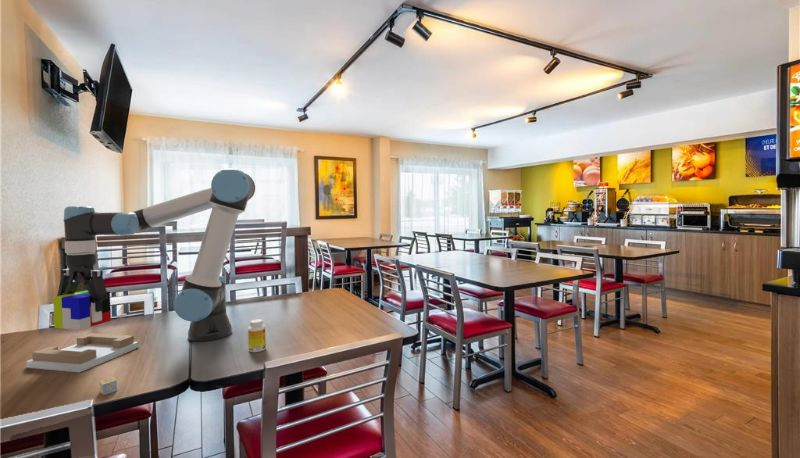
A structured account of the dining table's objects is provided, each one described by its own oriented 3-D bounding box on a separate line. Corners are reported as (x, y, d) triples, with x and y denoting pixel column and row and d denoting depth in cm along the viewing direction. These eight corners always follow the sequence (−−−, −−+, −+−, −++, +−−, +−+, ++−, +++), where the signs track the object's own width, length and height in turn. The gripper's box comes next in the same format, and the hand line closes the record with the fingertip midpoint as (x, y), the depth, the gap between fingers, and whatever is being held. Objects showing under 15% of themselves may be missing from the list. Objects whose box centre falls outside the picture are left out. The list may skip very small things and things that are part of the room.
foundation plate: (138, 347, 128) (138, 335, 128) (79, 372, 108) (78, 357, 108) (92, 344, 132) (91, 331, 131) (26, 367, 112) (25, 353, 112)
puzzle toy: (79, 330, 113) (78, 298, 113) (54, 327, 115) (53, 297, 115) (110, 320, 123) (109, 291, 123) (87, 318, 125) (86, 290, 125)
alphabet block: (102, 395, 95) (102, 384, 94) (100, 392, 97) (99, 380, 96) (117, 391, 97) (116, 380, 97) (114, 387, 99) (114, 376, 99)
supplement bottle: (266, 351, 124) (265, 321, 123) (249, 354, 121) (248, 324, 121) (264, 345, 129) (264, 317, 128) (248, 348, 126) (247, 319, 126)
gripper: (120, 253, 120) (122, 319, 121) (65, 251, 124) (68, 315, 125) (98, 255, 112) (100, 326, 114) (40, 253, 117) (43, 321, 118)
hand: (83, 320), depth 119 cm, fingers closed on puzzle toy, 10 cm apart
